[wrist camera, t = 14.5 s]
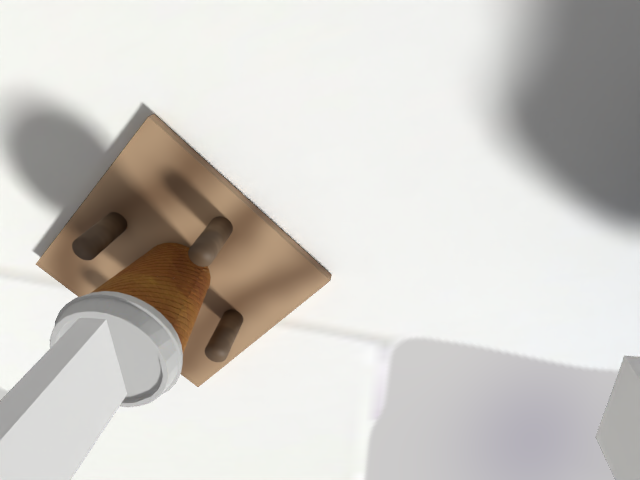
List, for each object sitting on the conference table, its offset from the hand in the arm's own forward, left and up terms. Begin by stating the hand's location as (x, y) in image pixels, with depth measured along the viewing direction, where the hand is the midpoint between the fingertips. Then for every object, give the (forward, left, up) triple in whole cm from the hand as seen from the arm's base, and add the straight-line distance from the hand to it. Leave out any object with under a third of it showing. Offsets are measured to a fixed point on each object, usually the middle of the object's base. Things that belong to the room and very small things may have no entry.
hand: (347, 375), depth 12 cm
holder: (+3, +22, -27) cm, 35 cm away
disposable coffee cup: (+3, +22, -26) cm, 34 cm away
